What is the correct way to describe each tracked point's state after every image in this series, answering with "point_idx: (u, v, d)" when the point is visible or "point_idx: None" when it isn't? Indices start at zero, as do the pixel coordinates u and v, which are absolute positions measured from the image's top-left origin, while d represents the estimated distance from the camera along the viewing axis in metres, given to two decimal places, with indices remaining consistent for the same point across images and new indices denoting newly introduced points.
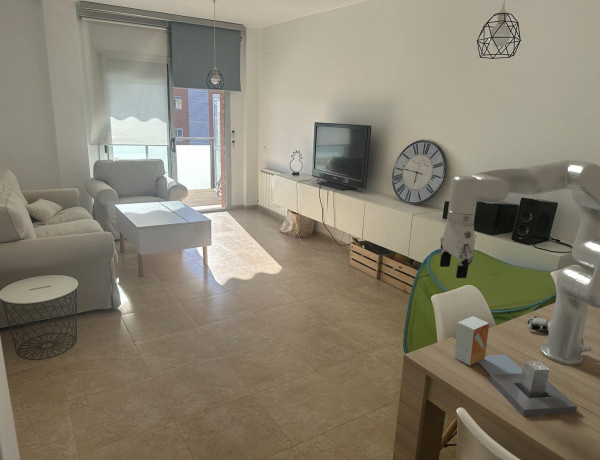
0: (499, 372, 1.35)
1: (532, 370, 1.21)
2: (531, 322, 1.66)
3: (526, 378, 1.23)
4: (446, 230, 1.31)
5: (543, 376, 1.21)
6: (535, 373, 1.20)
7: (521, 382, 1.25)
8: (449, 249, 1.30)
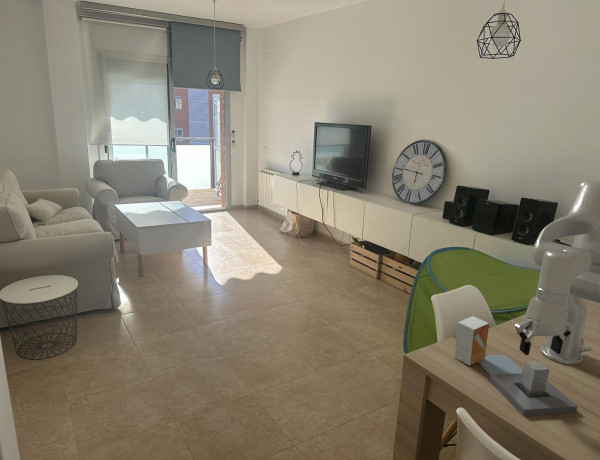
0: (499, 372, 1.35)
1: (532, 370, 1.21)
2: None
3: (526, 378, 1.23)
4: (544, 315, 1.15)
5: (543, 376, 1.21)
6: (535, 373, 1.20)
7: (521, 382, 1.25)
8: (550, 332, 1.17)
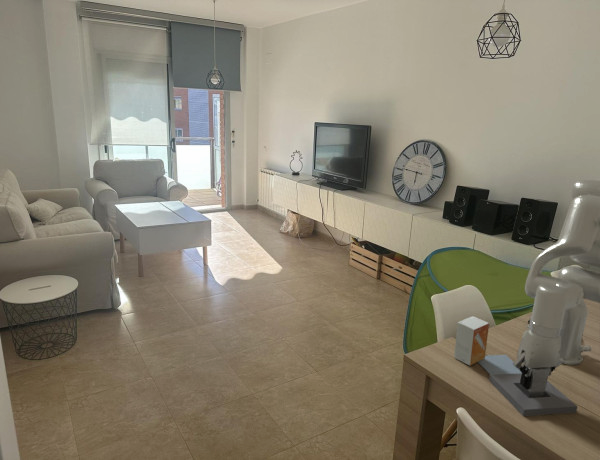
0: (499, 372, 1.35)
1: (532, 370, 1.21)
2: None
3: None
4: (537, 348, 1.18)
5: (543, 376, 1.21)
6: (535, 373, 1.20)
7: None
8: (543, 364, 1.20)
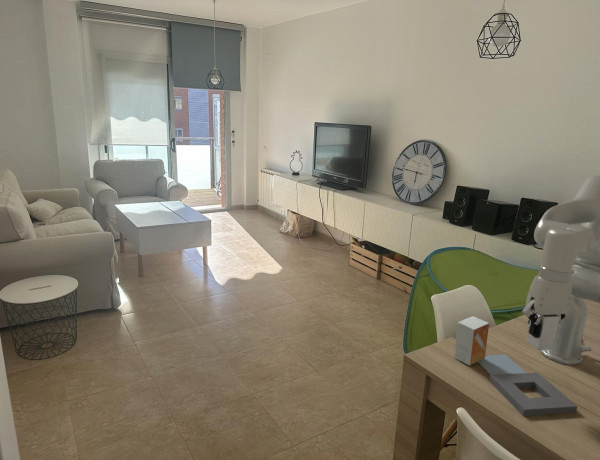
0: (499, 372, 1.35)
1: None
2: None
3: None
4: (547, 293, 1.14)
5: (552, 324, 1.17)
6: (545, 320, 1.16)
7: None
8: (553, 311, 1.16)
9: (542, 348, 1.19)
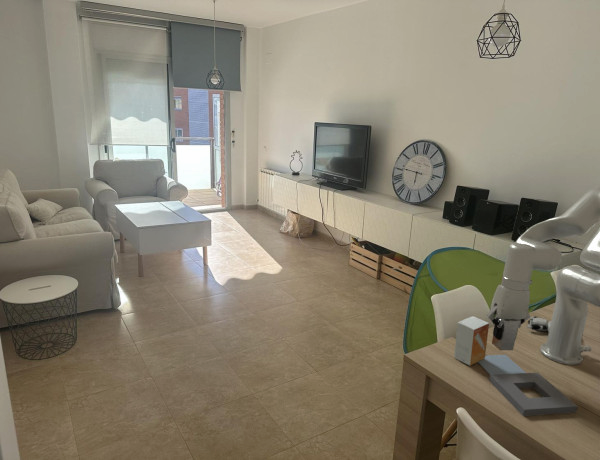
0: (499, 372, 1.35)
1: (503, 322, 1.33)
2: (531, 322, 1.66)
3: None
4: (508, 300, 1.30)
5: (513, 327, 1.33)
6: (506, 323, 1.32)
7: None
8: (513, 316, 1.32)
9: (504, 349, 1.35)
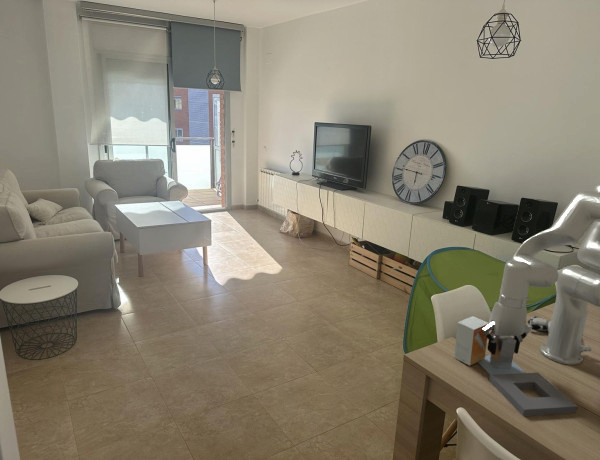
0: (499, 372, 1.35)
1: (500, 341, 1.35)
2: (531, 322, 1.66)
3: None
4: (505, 318, 1.32)
5: (510, 347, 1.35)
6: (503, 343, 1.34)
7: None
8: (511, 332, 1.33)
9: (501, 368, 1.36)
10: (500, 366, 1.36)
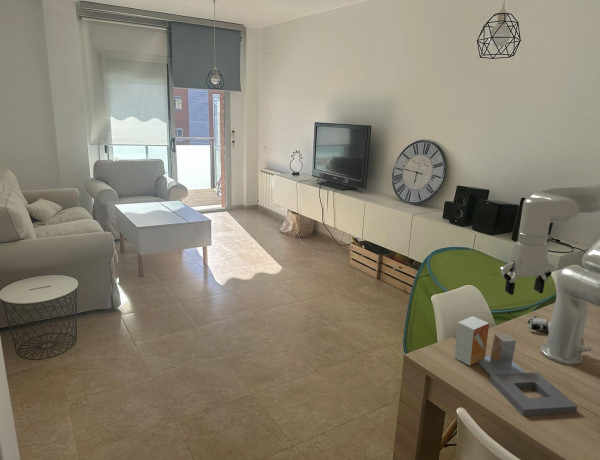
0: (499, 372, 1.35)
1: (500, 341, 1.35)
2: (531, 322, 1.66)
3: (495, 349, 1.37)
4: (526, 257, 1.27)
5: (510, 347, 1.35)
6: (503, 343, 1.34)
7: (492, 353, 1.39)
8: (532, 272, 1.29)
9: (501, 368, 1.36)
10: (500, 366, 1.36)
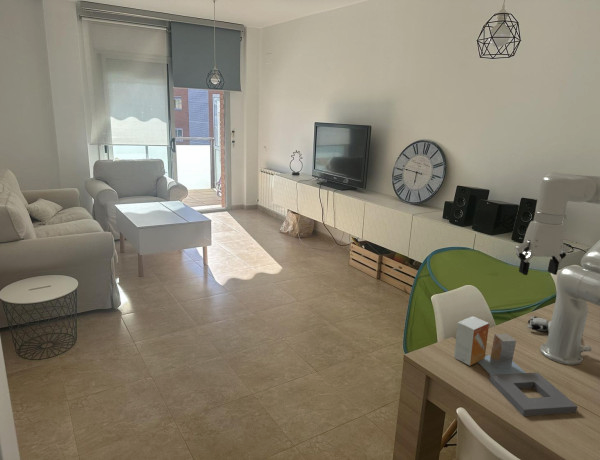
0: (499, 372, 1.35)
1: (500, 341, 1.35)
2: (531, 322, 1.66)
3: (495, 349, 1.37)
4: (542, 235, 1.25)
5: (510, 347, 1.35)
6: (503, 343, 1.34)
7: (492, 353, 1.39)
8: (547, 252, 1.27)
9: (501, 368, 1.36)
10: (500, 366, 1.36)
